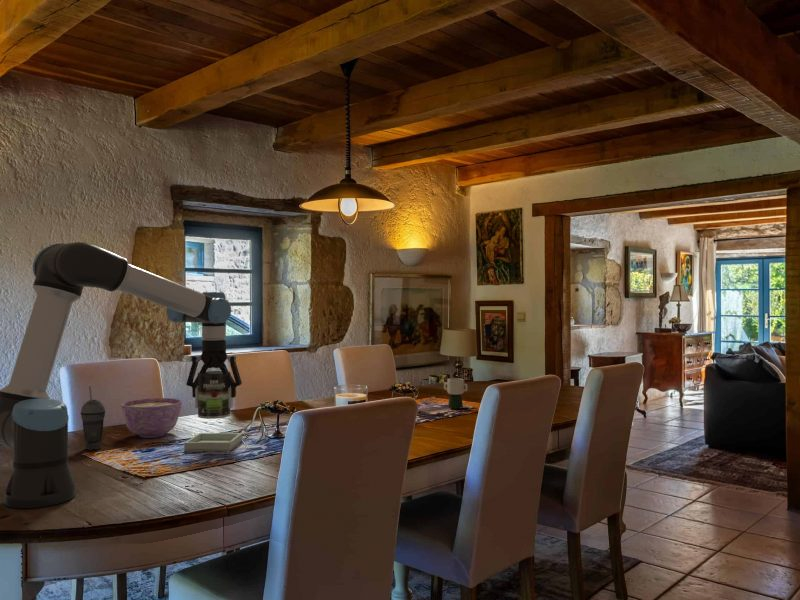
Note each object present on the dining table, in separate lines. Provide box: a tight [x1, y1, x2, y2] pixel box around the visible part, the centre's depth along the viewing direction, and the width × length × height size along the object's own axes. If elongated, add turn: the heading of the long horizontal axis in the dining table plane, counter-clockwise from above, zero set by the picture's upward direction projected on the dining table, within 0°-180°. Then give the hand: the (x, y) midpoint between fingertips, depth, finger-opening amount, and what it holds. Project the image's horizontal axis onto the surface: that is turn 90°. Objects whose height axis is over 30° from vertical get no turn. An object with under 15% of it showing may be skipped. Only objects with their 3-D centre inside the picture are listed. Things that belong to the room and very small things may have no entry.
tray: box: [183, 432, 243, 453], centre depth 213 cm, size 14×14×3 cm
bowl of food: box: [120, 397, 183, 439], centre depth 230 cm, size 20×20×12 cm
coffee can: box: [197, 370, 232, 420], centre depth 213 cm, size 10×10×14 cm
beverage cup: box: [80, 385, 106, 451], centre depth 210 cm, size 7×7×20 cm
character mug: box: [443, 377, 468, 410], centre depth 283 cm, size 11×7×13 cm, turn 65°
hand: (214, 407), depth 213 cm, fingers closed on coffee can, 10 cm apart
